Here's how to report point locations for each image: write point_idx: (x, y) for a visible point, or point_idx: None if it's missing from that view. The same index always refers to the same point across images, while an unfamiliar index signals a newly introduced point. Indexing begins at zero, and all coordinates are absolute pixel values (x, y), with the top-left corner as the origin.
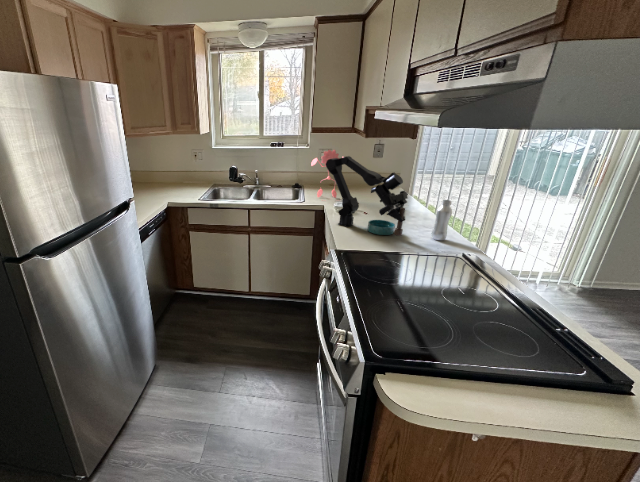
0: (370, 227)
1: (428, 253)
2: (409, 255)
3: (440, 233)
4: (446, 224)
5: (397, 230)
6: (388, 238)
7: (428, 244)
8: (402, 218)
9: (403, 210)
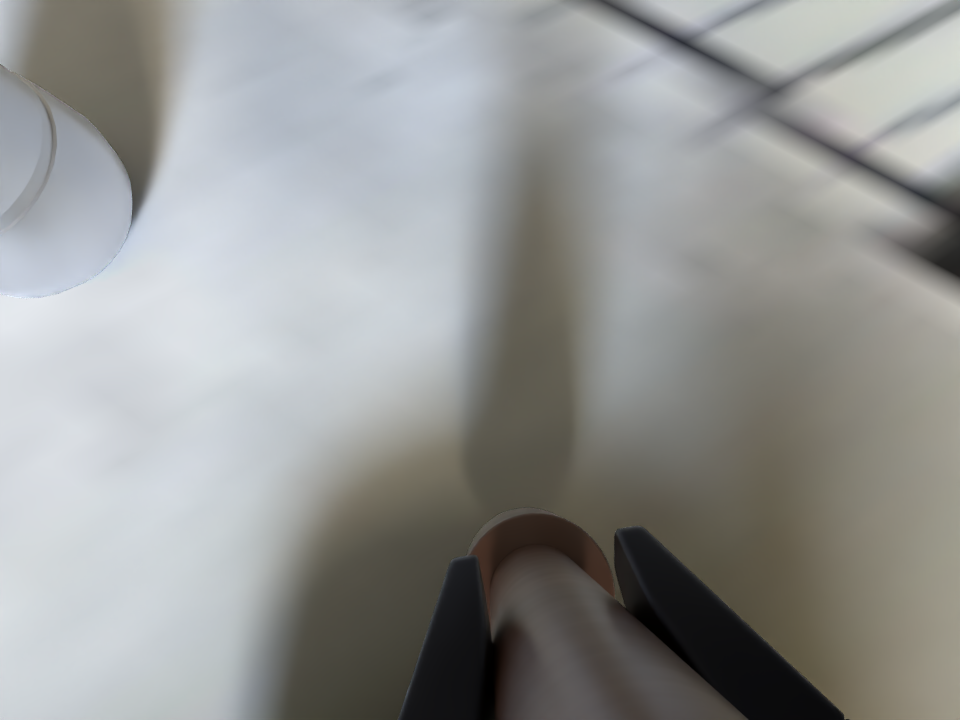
0: None
1: (619, 62)
2: (870, 139)
3: (59, 112)
4: None
5: (608, 572)
6: None
7: (350, 201)
8: (608, 596)
9: None
